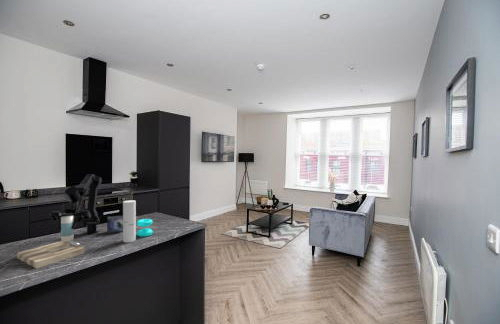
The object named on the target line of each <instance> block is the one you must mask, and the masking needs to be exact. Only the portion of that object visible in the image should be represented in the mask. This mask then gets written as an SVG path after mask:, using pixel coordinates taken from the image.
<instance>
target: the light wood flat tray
mask: <svg viewBox="0 0 500 324" xmlns="http://www.w3.org/2000/svg"><path fill="white" fill-rule="evenodd" d="M16 254H17V257H16V258H17V260H19V261H22V262H23V263H25V264H27V265H29V266H31V267H33V268H34V269H39V268H42V267H45V266H49V265H52V264H54V263H57V262H61V261H64V260H67V259H71V258H73V257H77V256H81V255H83V254H85V247H84V246H81V245H80V246H79V247H77V246H73V247H70V244H69V243H66V242H61V240H60V241H57V242H53V243H50V244H46V245H42V246H38V247H34V248H30V249H26V250H23V251H19V252H17V253H16Z"/></svg>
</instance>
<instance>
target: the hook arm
mask: <svg viewBox="0 0 500 324" xmlns="http://www.w3.org/2000/svg"><path fill="white" fill-rule="evenodd" d="M66 243H69V245H73V247H75V246H77V247H79V246H81V244H80V243H78V242H75V241H74V240H72V241H68V242H66Z"/></svg>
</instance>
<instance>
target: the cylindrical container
mask: <svg viewBox="0 0 500 324" xmlns="http://www.w3.org/2000/svg"><path fill="white" fill-rule="evenodd" d="M136 202H137V201H136V200H135V199H134V200H133V199H132V200H130V199H129V200H128V199H127V200H124V201H122V213H123V214H122V216H123V232H122V242H123V243H133V242H135V241H136V240H137V239H136V237H137V232H136V231H137V230H136V228H137V227H136V225H137V222H136V220H137V217H136V216H137V213H136V212H137V210H136V209H137V208H136V207H137V203H136Z"/></svg>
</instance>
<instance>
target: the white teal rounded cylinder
mask: <svg viewBox="0 0 500 324" xmlns="http://www.w3.org/2000/svg"><path fill="white" fill-rule="evenodd" d="M74 221H75V220H74V217H73V216H63V217H61V230H60V241H61V242H68V241H74V234H75V233H74V232H75V231H74V229H75V228H74V229H72V225H73V223H74Z"/></svg>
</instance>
